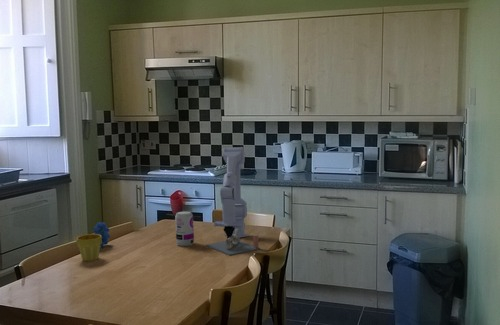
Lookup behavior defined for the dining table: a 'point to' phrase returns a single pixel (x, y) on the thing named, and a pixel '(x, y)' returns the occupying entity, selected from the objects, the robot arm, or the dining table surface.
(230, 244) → the gate
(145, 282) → the dining table surface
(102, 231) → the grapes
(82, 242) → the plant pot
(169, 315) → the dining table surface
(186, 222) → the supplement can
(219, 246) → the gate frame
